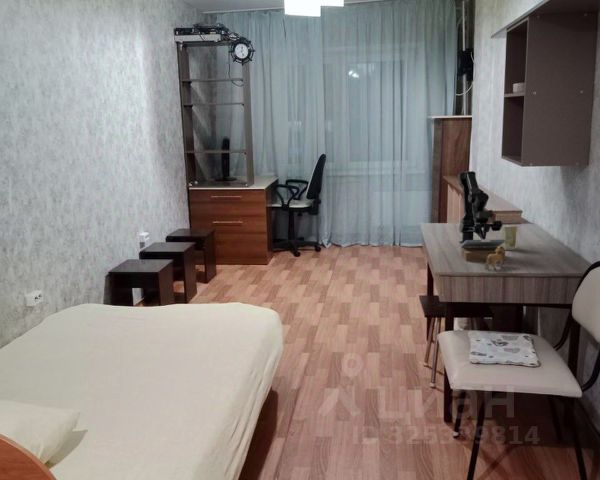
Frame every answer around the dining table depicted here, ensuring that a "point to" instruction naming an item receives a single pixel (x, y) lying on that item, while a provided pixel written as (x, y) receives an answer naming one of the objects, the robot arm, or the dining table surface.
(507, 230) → the skincare box
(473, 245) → the lid
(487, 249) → the walnut box
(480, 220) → the robot arm
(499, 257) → the lion figurine
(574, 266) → the dining table surface
